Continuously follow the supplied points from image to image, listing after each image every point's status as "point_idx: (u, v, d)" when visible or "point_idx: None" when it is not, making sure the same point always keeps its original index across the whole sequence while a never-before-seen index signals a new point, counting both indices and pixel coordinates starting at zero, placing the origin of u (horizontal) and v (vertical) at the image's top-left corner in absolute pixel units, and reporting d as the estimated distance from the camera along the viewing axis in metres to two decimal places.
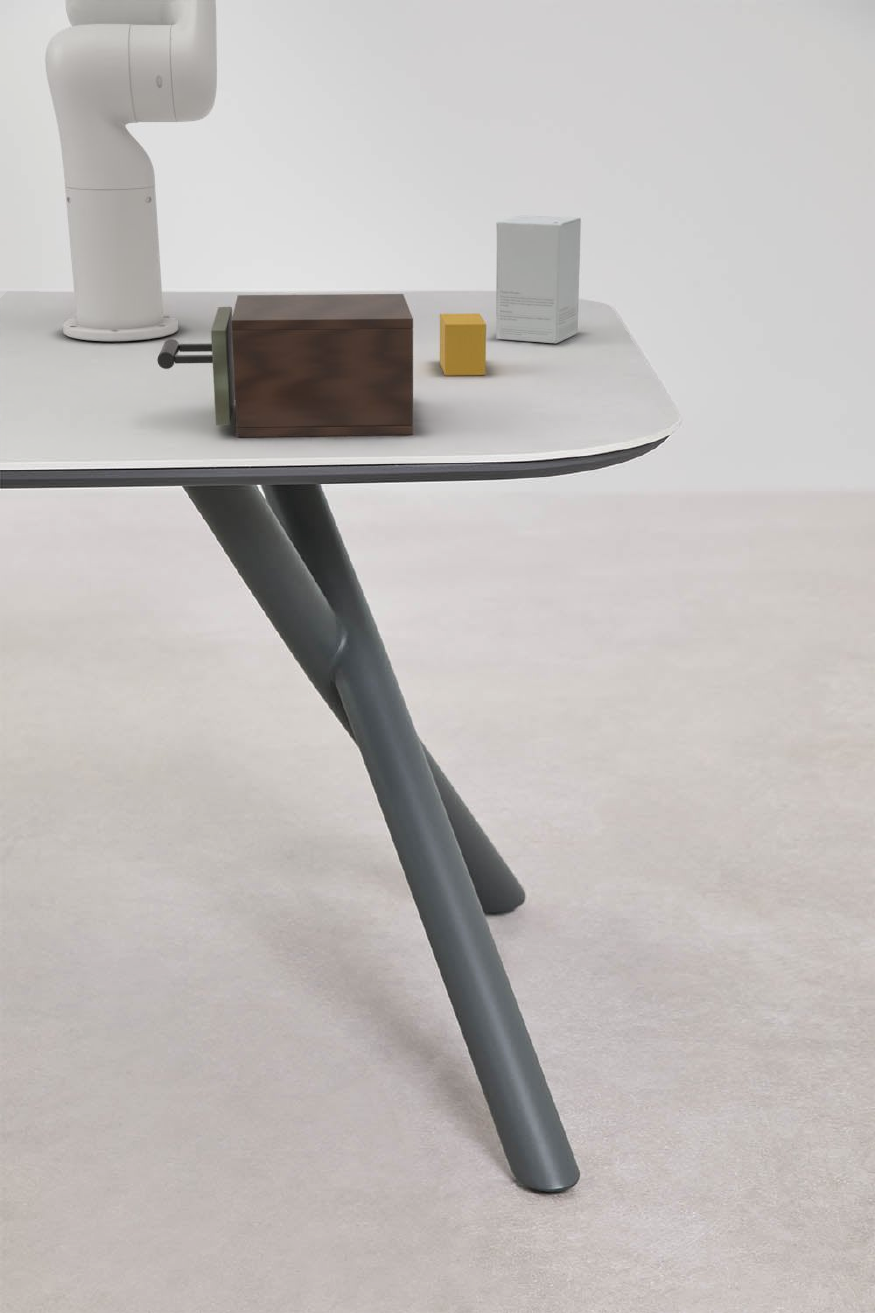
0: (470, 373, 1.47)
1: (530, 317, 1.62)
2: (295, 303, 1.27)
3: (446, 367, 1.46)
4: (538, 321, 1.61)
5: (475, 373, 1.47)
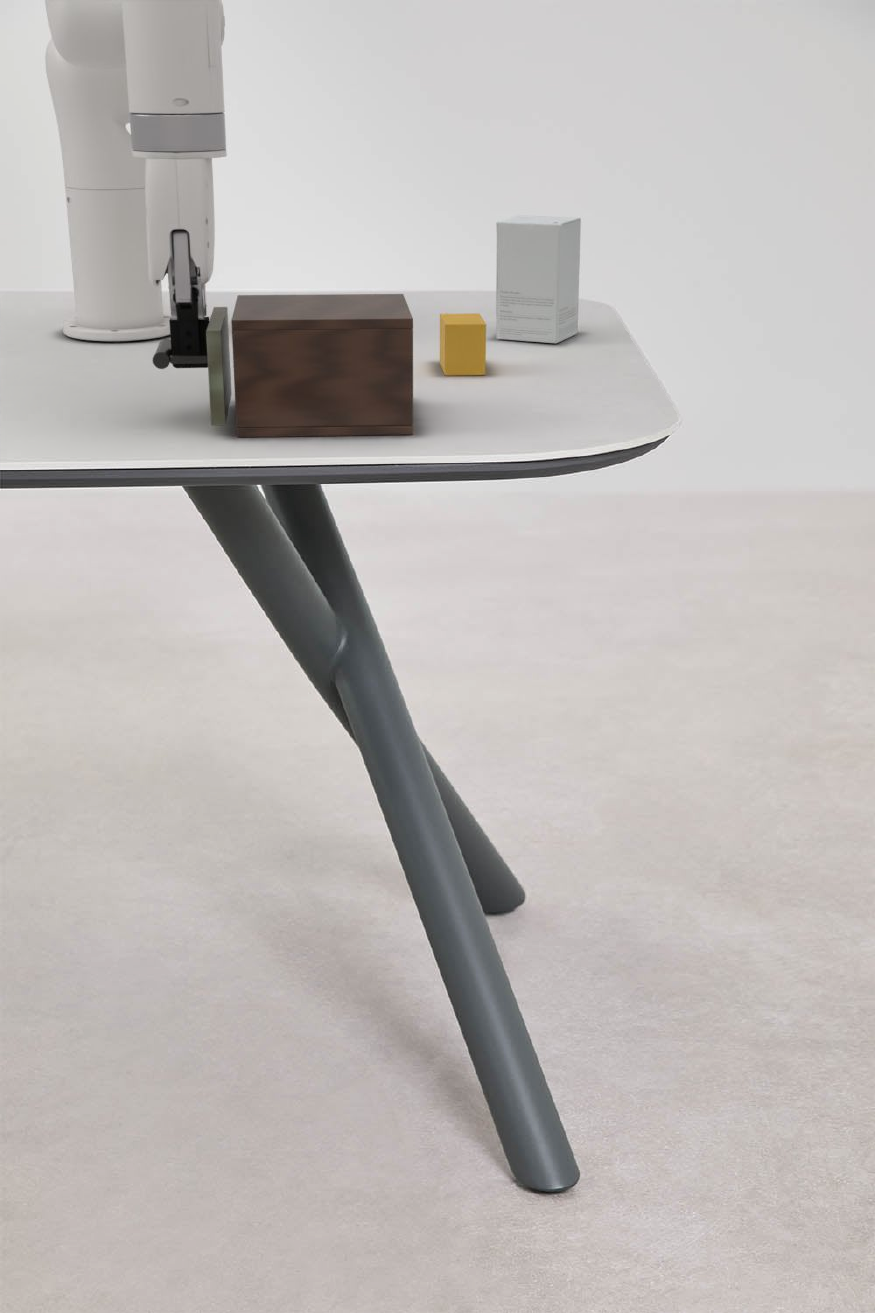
0: (470, 373, 1.47)
1: (530, 317, 1.62)
2: (295, 303, 1.27)
3: (446, 367, 1.46)
4: (538, 321, 1.61)
5: (475, 373, 1.47)
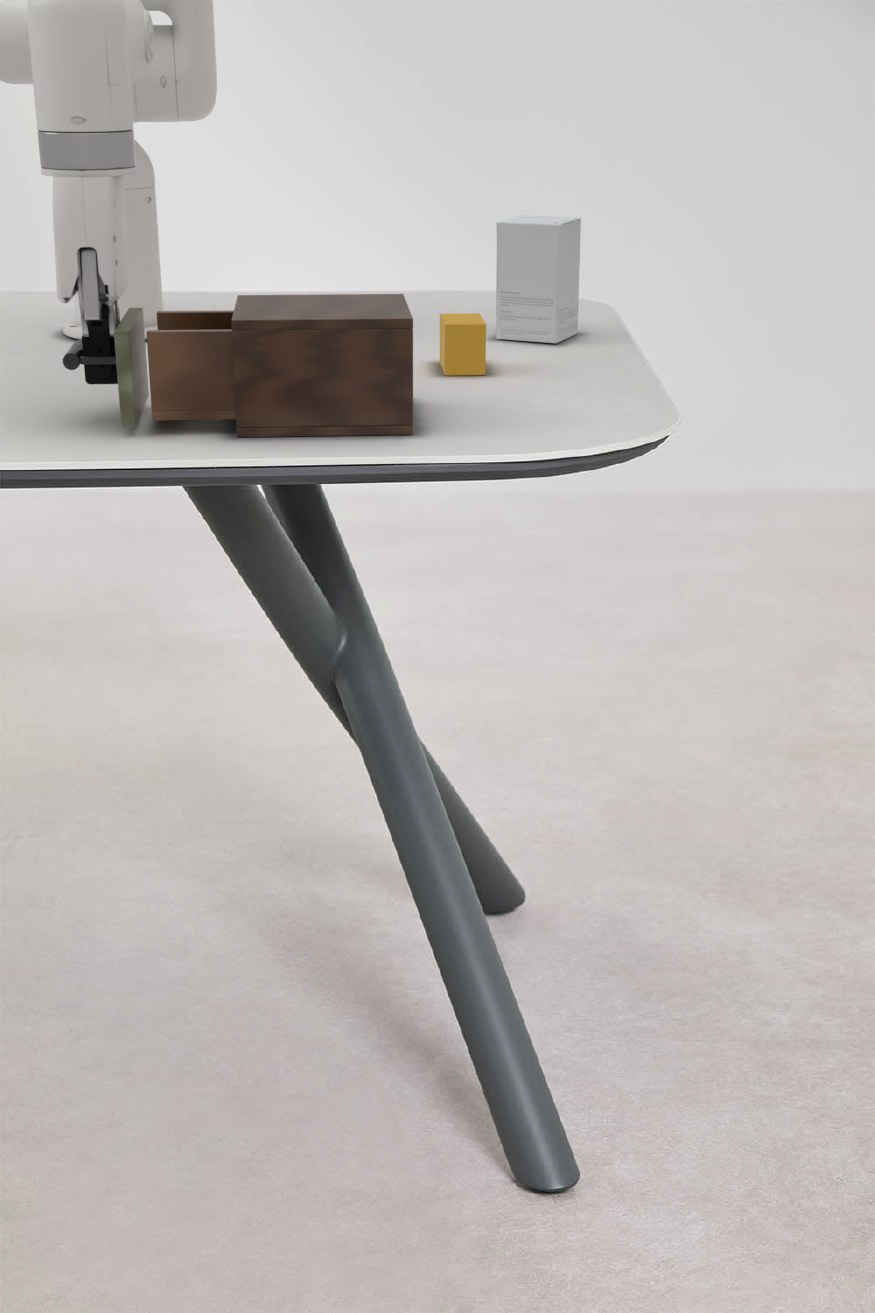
0: (470, 373, 1.47)
1: (530, 317, 1.62)
2: (295, 303, 1.27)
3: (446, 367, 1.46)
4: (538, 321, 1.61)
5: (475, 373, 1.47)
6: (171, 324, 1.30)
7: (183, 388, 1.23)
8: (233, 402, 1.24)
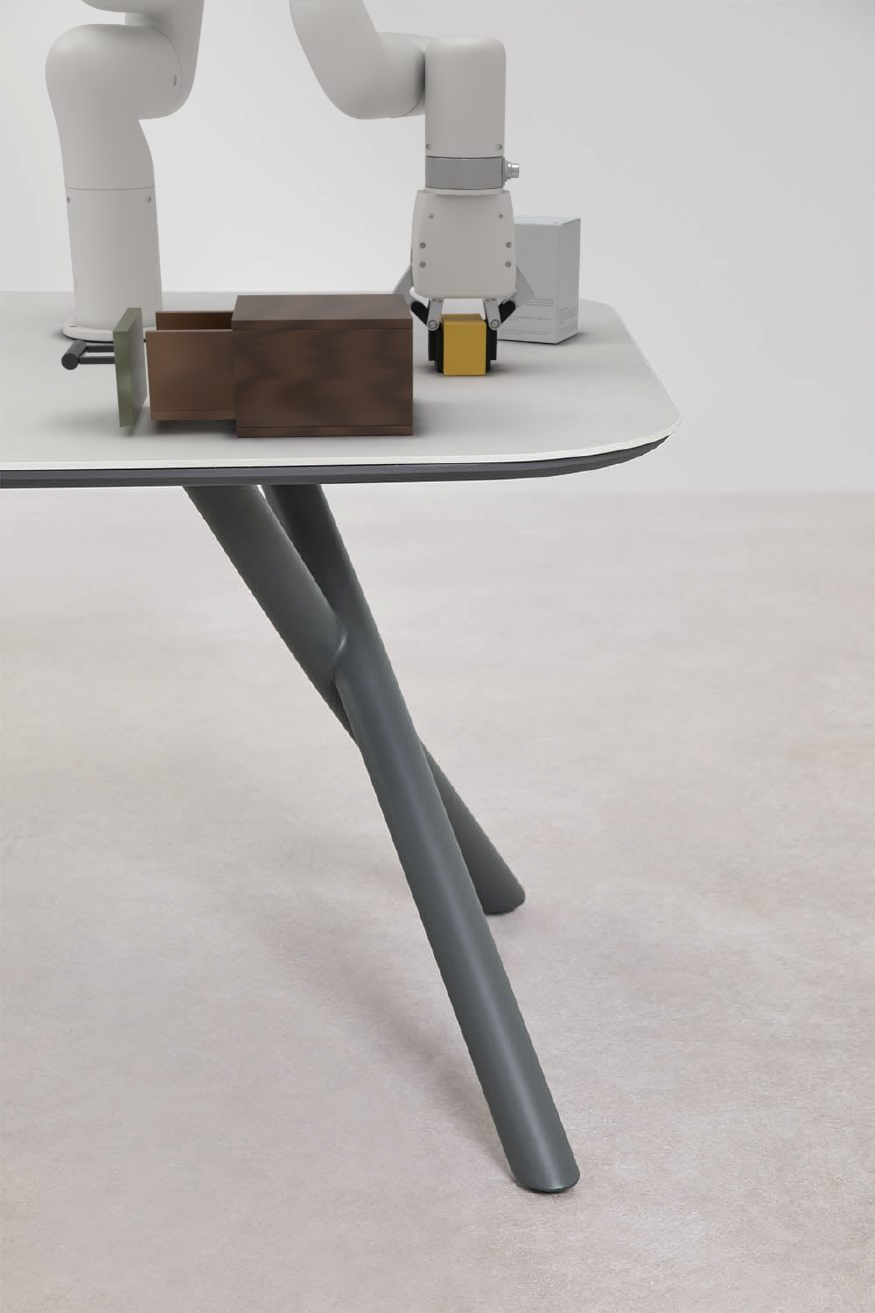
0: (470, 373, 1.47)
1: (530, 317, 1.62)
2: (295, 303, 1.27)
3: (446, 367, 1.46)
4: (538, 321, 1.61)
5: (475, 373, 1.47)
6: (170, 324, 1.30)
7: (182, 388, 1.23)
8: (232, 402, 1.24)
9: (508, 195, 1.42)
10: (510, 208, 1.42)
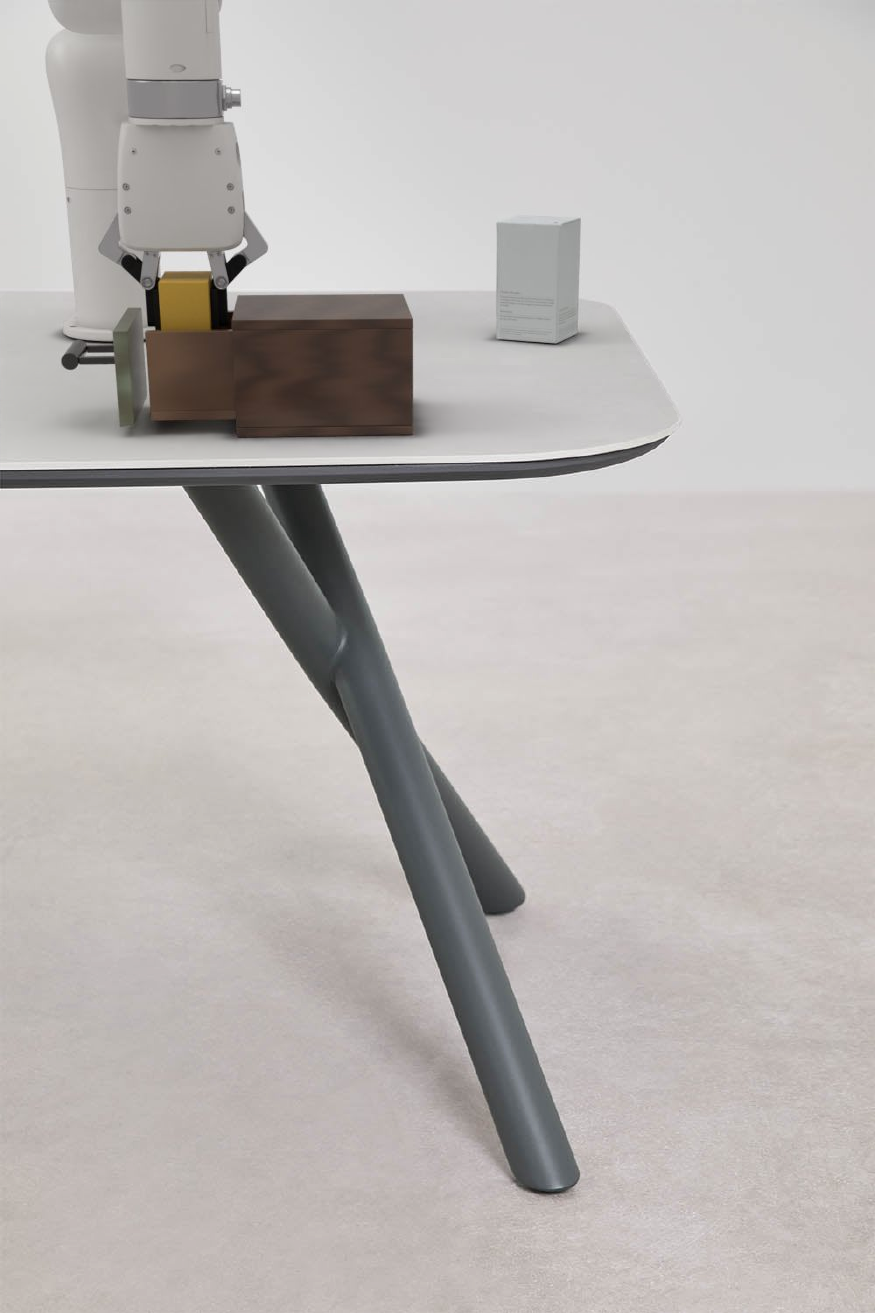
0: None
1: (530, 317, 1.62)
2: (295, 303, 1.27)
3: None
4: (538, 321, 1.61)
5: None
6: None
7: (182, 388, 1.23)
8: (232, 402, 1.24)
9: (227, 127, 1.19)
10: (230, 143, 1.19)
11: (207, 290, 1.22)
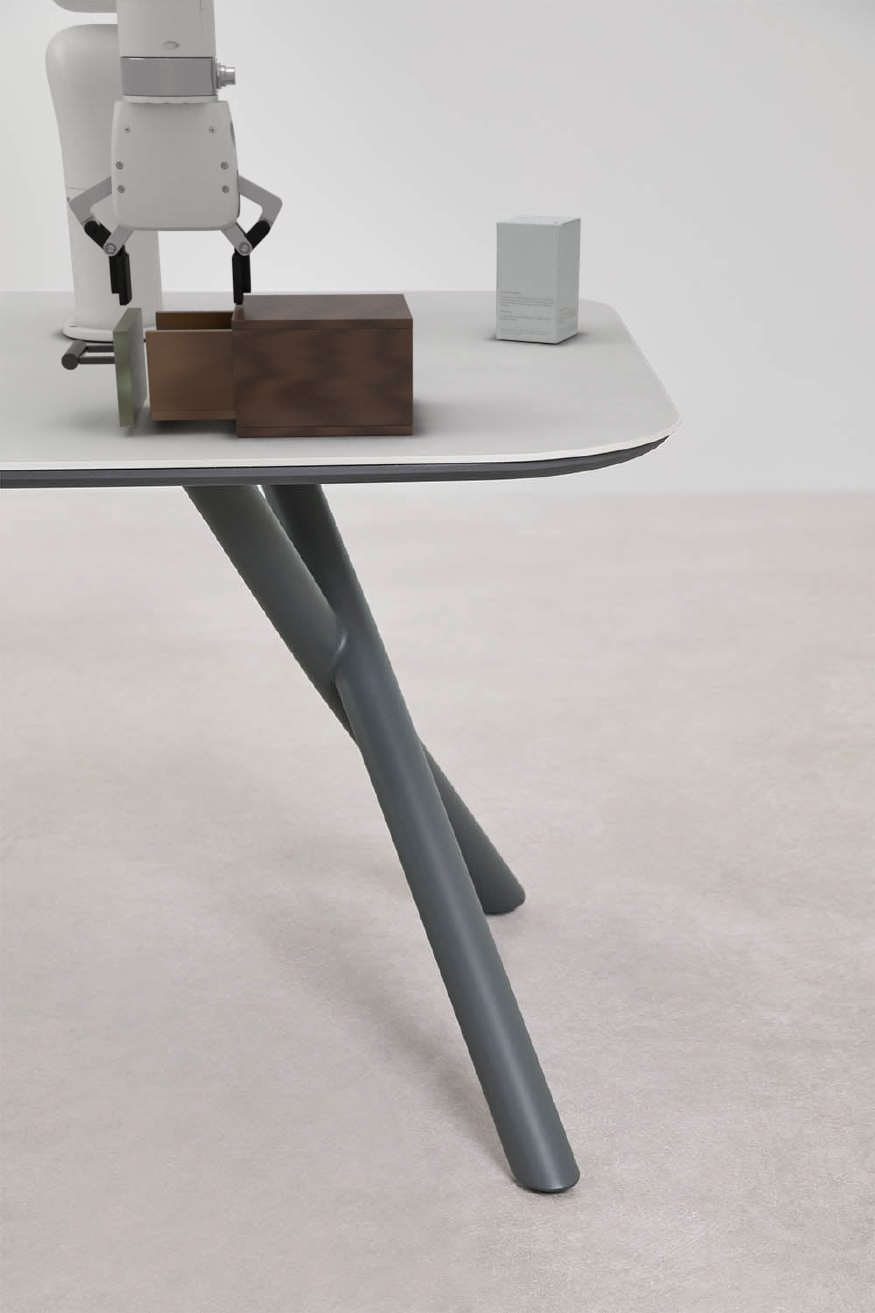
0: None
1: (530, 317, 1.62)
2: (295, 303, 1.27)
3: None
4: (538, 321, 1.61)
5: None
6: (170, 324, 1.30)
7: (182, 388, 1.23)
8: (232, 402, 1.24)
9: (221, 105, 1.18)
10: (224, 121, 1.18)
11: None
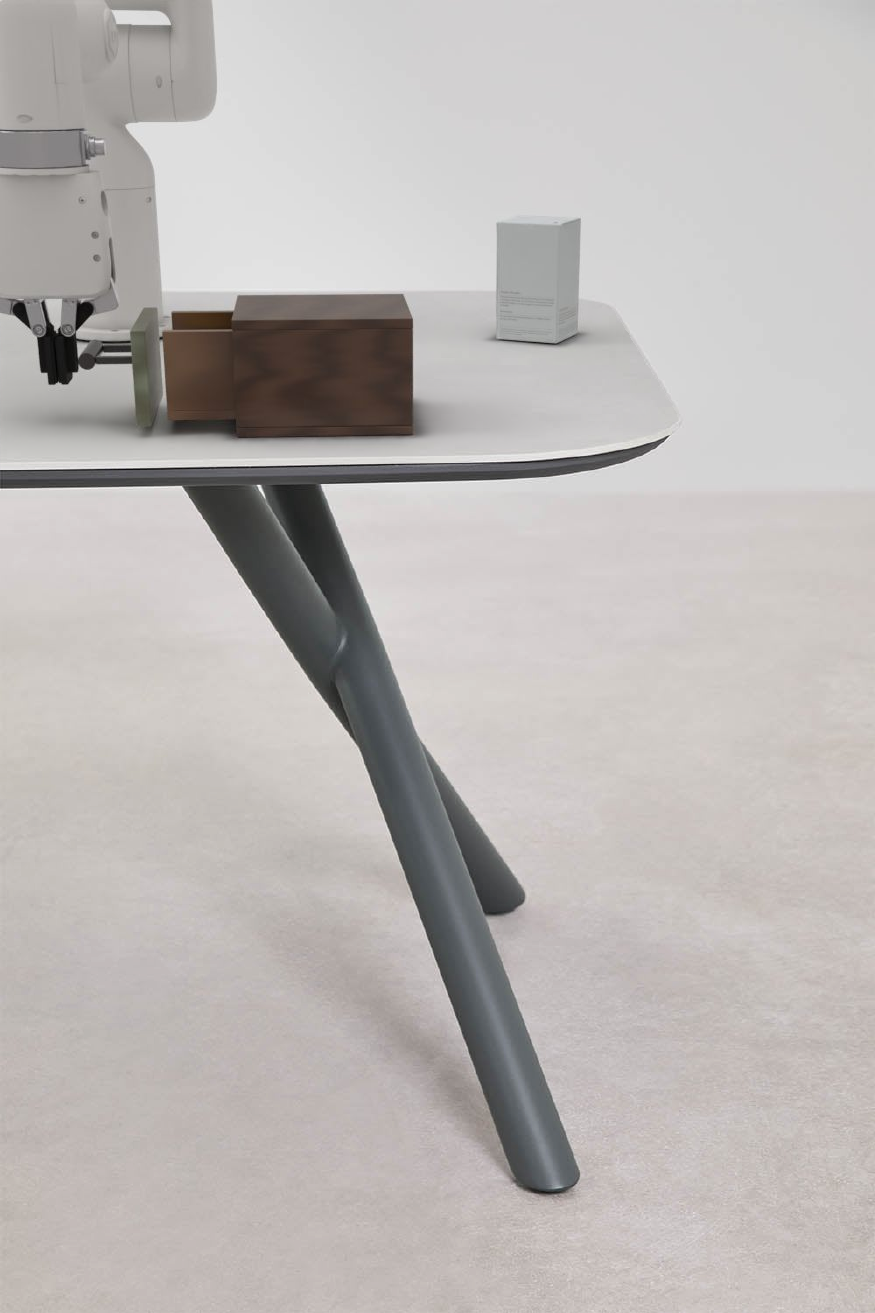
0: None
1: (530, 317, 1.62)
2: (295, 303, 1.27)
3: None
4: (538, 321, 1.61)
5: None
6: (186, 324, 1.30)
7: (199, 388, 1.23)
8: None
9: (91, 176, 1.19)
10: (94, 191, 1.20)
11: None
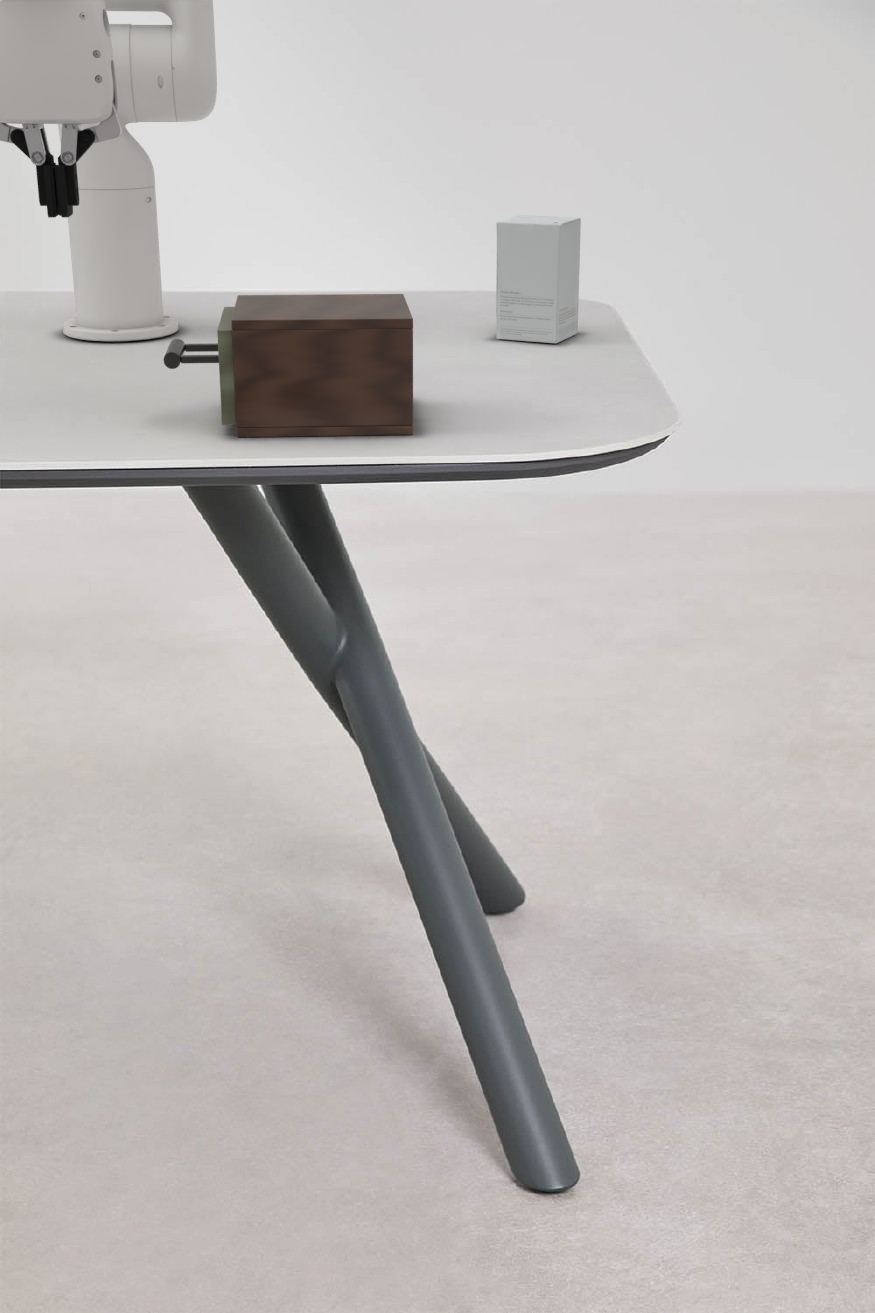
0: None
1: (530, 317, 1.62)
2: (295, 303, 1.27)
3: None
4: (538, 321, 1.61)
5: None
6: None
7: None
8: None
9: None
10: (95, 7, 1.15)
11: None
